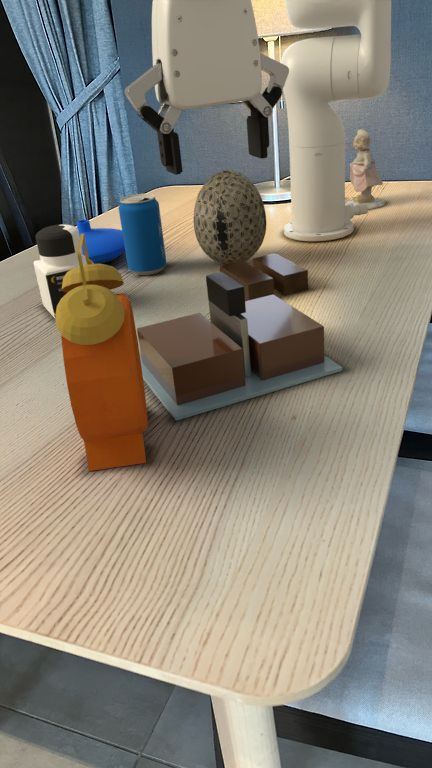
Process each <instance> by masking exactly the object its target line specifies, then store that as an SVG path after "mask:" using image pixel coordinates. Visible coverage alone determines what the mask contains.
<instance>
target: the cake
mask: <svg viewBox="0 0 432 768" xmlns="http://www.w3.org/2000/svg"><path fill="white" fill-rule="evenodd" d="M245 306H246V313H242V315H243V316H244V317H246V318H247V323H248V337H249V350H250V364H251V376H250V377H247V378H245V374H244V361H243V349H242V348H241V347H240V346H239V345H237V344H236V343H235V342H234V341H233V340H232V339H230V338H229V337H228V336H227V335H226V334H224V333H223V332H222V331H221V330H220V329H218V328H217V327H216V326H215V325H214V324H213V323H211V320H209V319H208V318H207V317H206V316H205V315H203V314H202V313H201V312H198V313H193V314H189V315H186V316H181V317H177V318H172V319H169V320H165V321H161V322H156V323H153V324H148V325H145V326H141V327H137V328H136V334H137V340H138V346H139V353H140V360H141V367H142V374H143V382H144V383H145V384H146V385H147V386H148V387H149V389H150V390H151V391H152V392H153V394H154V395H155V396H156V398H157V399H158V400H159V402H160V403H161V404H162V405H163V407H164V408H165V409H166V411H167V412H168V413H169V414H170V416H171V417H172V418H173V420H174V421H175V422H177V421H181V420H184V419H188V418H190V417H195V416H198V415H200V414H203V413H207V412H210V411H214V410H217V409H220V408H223V407H227V406H230V405H234V404H236V403H241V402H244V401H246V400H250V399H254V398H256V397H260V396H264V395H266V394H267V395H268V394H270V393H273V392H276V391H279V390H283V389H287V388H290V387H293V386H296V385H300V384H303V383H307V382H309V381H313V380H316V379H320V378H324V377H326V376H327V377H328V376H330V375H333V374H336V373H341V372H342V371H343V366H341V365H340V364H339V363H337V362H335V361H334V360H333V359H331V358H330V357H328V356H327V355H326V354H325V326H324V325H323V324H321V323H320V322H318V321H317V320H315V319H313V318H312V317H310V316H308V315H307V314H306V313H303V312H302V311H300V310H299V309H298V308H296V307H294V306H292V305H291V304H290V303H288V302H286V301H285V300H283V299H281V298H280V297H279V296H277V295H275V294H274V295H269V296H265V297H261V298H257V299H253V300H249V301H245Z"/></svg>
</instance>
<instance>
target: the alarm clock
mask: <svg viewBox="0 0 432 768" xmlns="http://www.w3.org/2000/svg"><path fill="white" fill-rule="evenodd" d="M82 242H83V247H84V253H85V258H86V262H87V265H83V263H82V257H81V248H82ZM77 255H78V260H79V266H78V267H76V268H74V269H72V270H70V271H68V272H67V273H66V275H65V276H64V278H63V283H62V291H64V292H67V294H66V295H65V296H63V297H62V298H61V300H60V302H59V303H58V305H57V309H56V318H54V321H55V325H56V329H57V331H58V332H59V333H60V339H61V347H62V348H61V349H62V358H63V366H64V373H65V379H66V385H67V390H68V396H69V401H70V407H71V411H72V415H73V419H74V422H75V426H76V428H77V431H78V433H79V436H80V438H81V440H82V441H83V443H84V449H85V455H86V462H87V468H88V472H93V471H99V470H100V471H101V470H107V469H112V468H119V467H120V468H121V467H128V466H133V465H134V466H135V465H140V464H146V463H147V457H146V456H147V455H146V447H145V439H144V432H146V431H147V428H148V409H147V408H148V407H147V400H146V399H147V398H146V390H145V381H144V379H143V374H142V367H141V360H140V356H141V352H140V346H139V339H138V333H137V328H136V322H135V317H134V312H133V311H134V310H133V306H132V303H131V302H132V301H131V300H130V298H129V297H128V295H127V293H123V292H120V293H119V292H118V293H115V292H114V291H113V290H115V289H117V288H120V287H122V286H124V284H125V282H124V278H123V276H122V274H121V272H120V271H119V270H117V268H116V267H114V266H113V265H108V264H105V263H102V264H93V263H92V260H89V256H88V251H87V246H86V241H85V236H84V234H81V235H80V240H79V246H78V251H77Z"/></svg>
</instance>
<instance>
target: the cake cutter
mask: <svg viewBox="0 0 432 768" xmlns="http://www.w3.org/2000/svg"><path fill="white" fill-rule="evenodd" d="M205 281H206V291H207V300H208V309H209V319H210V320H209V321H210V322H211V323H213V324H214V325H215V326H216V327H217V328H218V329H220V330H221V331H222V332H223V333H224V334H226V335H227V336H228V337H229V338H230V339H232V340H233V341H234V342H235V343H236V344H237V345H239V346H240V347H241V348H242V349H243V361H244V374H245V378H247V377H250V376H251V364H250V350H249V337H248V323H247V318H246V317H244V316H243V315H242V313H246V306H245V292H244V286H242V285H241V284H239V283H238V282H236V281H235V280H233V279H232V278H230V277H228V276H227V275H225V274H224V273H222V272H220V271H219V272H215V273H210V274H206V275H205Z"/></svg>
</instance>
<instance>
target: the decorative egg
mask: <svg viewBox="0 0 432 768" xmlns="http://www.w3.org/2000/svg"><path fill="white" fill-rule="evenodd" d="M193 230H194V234H195V237H196V240H197V243H198V244H199V246H200V248H201V250H202V251H203V252H204V254H205V255H206V256H207V257H208V258H210V259H211V260H213V261H215V262H216V263H219V264H221V265H226V264H230V263H234V262H239V261H245V262H246V261H248V260H250V259H251V258H253V256H255V254H256V253H258V251H259V250H260V248H261V247H262V245H263V242H264V240H265V237H266V231H267V213H266V209H265V205H264V201H263V198H262V196H261V194H260V191H259V189H258V188H257V187H256V185H255V184H254V182H252V180H251V179H249V177H247V176H246V175H244V173H241V172H238V171H236V170H232V169H224V170H221V171H218V172H216V173H215V174H212V176H210V177H209V178H208V179H207V180H206V181H205V183H203V185H202V187H201V188H200V190H199V191H198V193H197V196H196V199H195V203H194V207H193Z"/></svg>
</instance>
